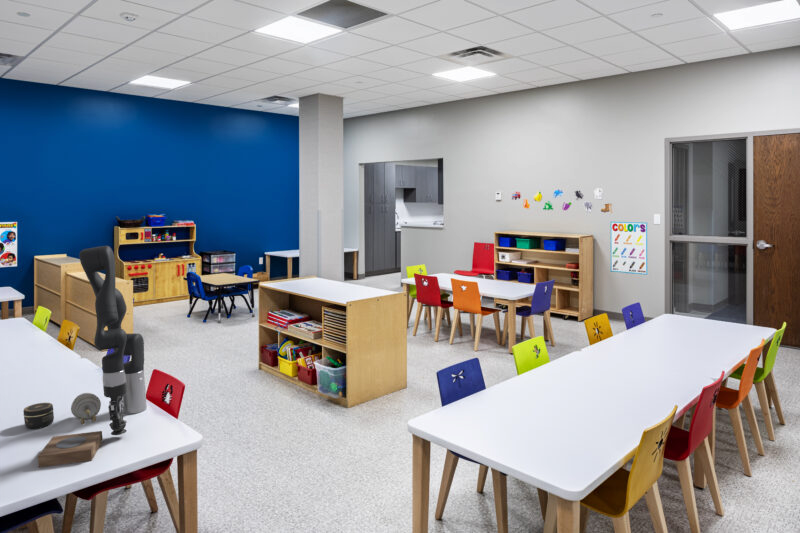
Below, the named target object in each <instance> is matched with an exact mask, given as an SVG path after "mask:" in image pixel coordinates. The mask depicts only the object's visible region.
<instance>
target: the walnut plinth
mask: <svg viewBox="0 0 800 533" xmlns="http://www.w3.org/2000/svg"><path fill="white" fill-rule="evenodd" d="M103 441H104V439H103V431H102V430H99V431H98V430H97V431H89V432H82V433H81V432H80V433H72V434H63V435H56V436H52V437H51V438H50V440H48V442H47V443H46V445H45V446H44V448H42V450H41V451H40V453H38V455H37V466H38V468H46V467H52V466H59V465H66V464H73V463H83V462H89V461H90V462H91V461H93V459H94V458H95V456H96V454H97V452H98V450H99V449H100V446H101V445H102V443H103Z"/></svg>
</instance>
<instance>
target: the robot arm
mask: <svg viewBox="0 0 800 533" xmlns="http://www.w3.org/2000/svg"><path fill="white" fill-rule="evenodd" d="M78 256H79V261H80V265H81V267H82V269H83V271H84V274H85V276H86V278H87V280H88V282H89V283H90V285H91V288H92V290H93V293H94V296H95V302H94V308H95V315H96V329H95V335H94V339H93V340H94V341H93V342H94V343H93V344H94V346H95V348H96V349H97V350H99V351H105V350H107V351H108V350H112V349H113V352H111V353H109V354H106V355H104V356H102V359H101V365H102V367H101V368H102V369H101V370H102V386H103V395H104V396H103V397H105V398H109V399H110V401H109V402H108V403H109V404H108V407H107V408H108V412H109V413H108V414H109V420H110V421H111V423H113V429H119V428H120V422H119V413H120V412H123V413H122V419H123V420H124V415H123V414H127V415H128V414H129V415H130V414H131V415H132V414H137V413H142V412H144V411H145V410H147V407H148V406H147V395H146V392H147V391H146V381H145V380H146V379H145V342H144V341H145V340H144V337H143V335H142V334H140V333H127V332H126V331H125V330H124V329H123V328H122V322H123V320H124V318H125V316H126V314H127V310H128V309H127V304H126V301H125V298H124V296H123V294H122V292H121V291H120V290H119V289H118V288H116V259H115V254H114V251H113V249H112V248H111V246H109V245H102V246H101V245H100V246H96V247H95V246H94V247H89V248H83V249H81V251H80V252H79V255H78ZM99 272H105V276H104V278H102V276H101V275H100V274H99ZM106 327H107V329H106V330H105V328H106ZM124 356H126V357H128V356H130V357H131V359H130V360H129V361H126V362H124ZM118 409H119V410H118ZM117 410H118V411H117ZM113 414H115V415H116V416H114V417H113Z"/></svg>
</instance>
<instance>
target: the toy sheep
mask: <svg viewBox="0 0 800 533" xmlns="http://www.w3.org/2000/svg"><path fill="white" fill-rule="evenodd" d="M101 406H102V402H101V400H100V398H99V397H98V396H97V395H96V394H94V393H91V392H84V393H80V394H79V395H77V396H76V397H75V398H74V400H73V401H72V403H71V407H70V411H71V414H72V415H73V416H74V417H75V418H76V419H77V420H80V424H81V425H85V424H86V423H85V422H86V421H89V420H91V419H92V422H93V423H96V421H97V415H98V414H99V413H100V411H101Z"/></svg>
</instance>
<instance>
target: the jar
mask: <svg viewBox="0 0 800 533" xmlns="http://www.w3.org/2000/svg"><path fill="white" fill-rule="evenodd" d="M22 416H23V420H24V426H25V428H27V429H28V430H39V429H43V428H47V427H49V426H51V425H52V424H53V423H54V419H55V414H54V405H53V403H51V402H40V403H39V402H38V403H33V404H31V405H28V406H26V407H24V408H23V415H22Z"/></svg>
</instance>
